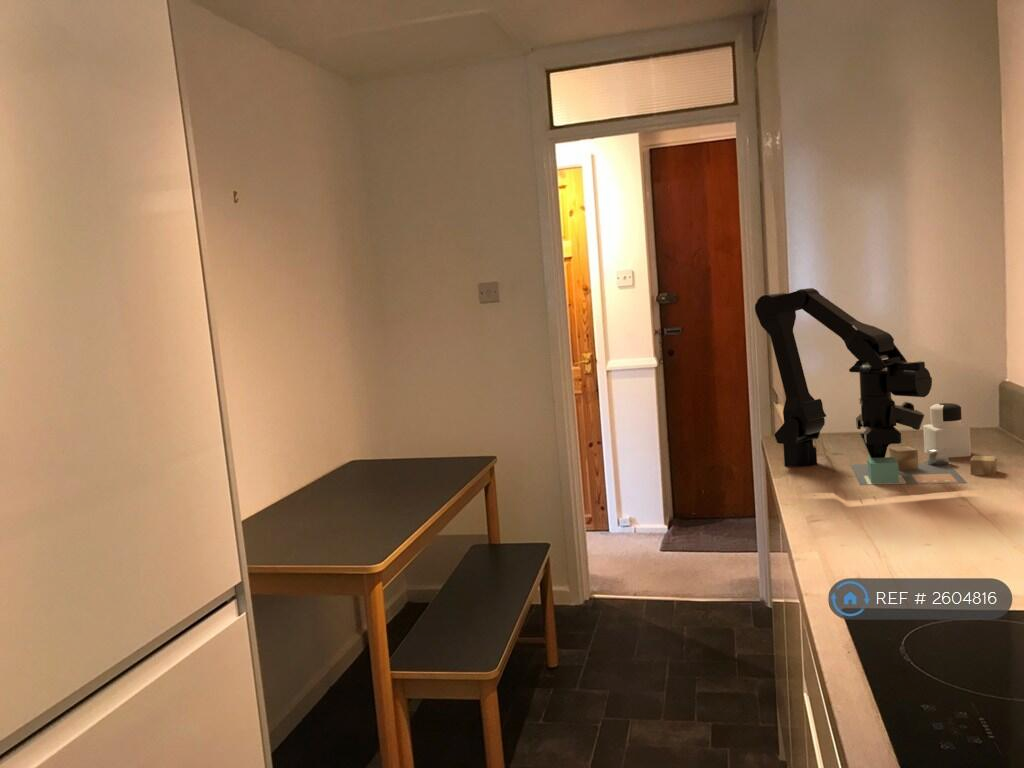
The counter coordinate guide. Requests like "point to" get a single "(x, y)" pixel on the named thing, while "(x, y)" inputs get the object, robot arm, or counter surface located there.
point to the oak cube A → (905, 457)
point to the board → (914, 475)
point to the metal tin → (938, 456)
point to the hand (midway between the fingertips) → (879, 469)
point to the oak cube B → (983, 465)
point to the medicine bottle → (947, 430)
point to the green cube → (883, 470)
